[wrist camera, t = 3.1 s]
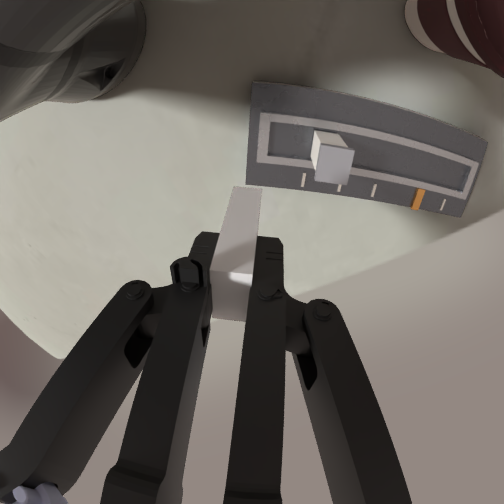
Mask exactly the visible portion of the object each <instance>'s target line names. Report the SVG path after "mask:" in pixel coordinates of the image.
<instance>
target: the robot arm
mask: <svg viewBox="0 0 504 504" xmlns="http://www.w3.org/2000/svg"><path fill="white" fill-rule="evenodd" d="M145 32H146V19H145V13H144V10H143V7H142V4H141V2H140V1H139V0H0V122H1V121H3V120H5V119H7V118H9V117H11V116H13V115H15V114H17V113H19V112H21V111H23V110H25V109H27V108H30V107H32V106H34V105H36V104H38V103H41V102H43V101H52V102H63V103H79V102H84V101H88V100H90V99H93V98H96V97H98V96H101V95H103V94H105V93H107V92H109V91H110V90H112V89H113V88H114V87H116V86H117V85H118V84H119V83H120V82H121V81H122V80H123V79H124V78H125V77H126V76H127V75H128V73H129V72H130V71H131V69H132V68H133V66H134V64H135V63H136V61H137V59H138V57H139V55H140V52H141V49H142V46H143V43H144V38H145ZM261 193H262V189H257V188H246V187H233V191H232V194H231V197H230V201H229V204H228V207H227V211H226V214H225V217H224V221H223V224H222V228H221V231H220V233H213V232H201V233H200V234H199V235H198V236H197V237H196V238H195V240H194V243H193V246H192V248H191V251H190V253H189V256H188V257H183V258H179V259H177V260H176V261H174V262H173V263H172V265H171V266H170V270H171V276H172V282H173V284H171V285H168V286H164V287H158V288H151V287H150V285H149V284H148V283H147V282H145V281H141V280H134V281H130V282H128V283H126V284H125V285H124V286H122V287H121V288H120V290H119V291H118V292H117V293H116V294H115V296H114V297H113V298H112V299H111V300H110V302H109V303H108V304H107V305H106V306H105V308H104V309H103V310H102V311H101V313H100V314H99V315H98V316H97V318H96V319H95V320H94V321H93V323H92V324H91V325H90V327H89V328H88V329H87V330H86V332H85V333H84V334H83V336H82V337H81V338H80V339H79V341H78V342H77V343H76V345H75V346H74V347H73V349H72V350H71V351H70V353H69V354H68V356H67V357H66V358H65V360H64V361H63V362H62V364H61V365H60V367H59V368H58V369H57V371H56V372H55V374H54V375H53V376H52V378H51V379H50V381H49V382H48V384H47V385H46V387H45V388H44V390H43V391H42V393H41V394H40V396H39V397H38V399H37V400H36V402H35V403H34V405H33V406H32V408H31V409H30V411H29V413H28V414H27V416H26V417H25V419H24V421H23V422H22V424H21V426H20V427H19V429H18V431H17V432H16V434H15V436H14V437H13V439H12V441H11V443H10V444H9V445H8V446H7V447H5V448H4V449H3V450H1V451H0V502H1V503H4V504H68V502H67V500H66V499H65V498H64V497H63V495H64V494H65V493H66V492H67V491H68V490H69V489H70V488H71V487H72V486H73V485H74V484H75V483H76V481H77V479H78V478H79V476H80V475H81V473H82V471H83V470H84V468H85V466H86V464H87V463H88V461H89V459H90V457H91V456H92V454H93V452H94V450H95V448H96V447H97V445H98V443H99V442H100V440H101V438H102V436H103V435H104V433H105V431H106V429H107V428H108V426H109V424H110V423H111V421H112V419H113V418H114V416H115V414H116V413H117V411H118V409H119V407H120V406H121V404H122V402H123V401H124V399H125V397H126V396H127V394H128V392H129V391H130V389H131V388H132V386H133V384H134V383H135V381H136V379H137V378H138V376H139V374H140V373H141V371H142V370H143V371H142V374H141V378H140V381H139V385H138V388H137V391H136V394H135V398H134V401H133V405H132V408H131V412H130V416H129V419H128V423H127V427H126V431H125V435H124V438H123V443H122V446H121V450H120V454H119V458H118V461H117V463H116V465H115V466H113V467H112V468H111V469H110V470H109V472H108V474H107V476H106V479H105V482H104V487H103V492H102V497H101V502H100V504H181V503H182V495H183V488H182V479H183V473H184V467H185V461H186V455H187V449H188V444H189V438H190V433H191V427H192V421H193V416H194V410H195V405H196V400H197V394H198V389H199V384H200V379H201V374H202V368H203V363H204V358H205V353H206V348H207V343H208V338H209V333H210V319H211V314H212V318H217V319H225V320H234V321H244V322H246V324H245V333H244V340H243V349H242V357H241V365H240V374H239V382H238V391H237V398H236V407H235V415H234V424H233V431H232V440H231V448H230V456H229V464H228V472H227V480H226V488H225V494H224V501H223V504H282V498H281V493H280V484H281V467H282V448H283V427H284V398H285V397H284V396H285V352H286V351H289V352H292V355H293V359H294V363H295V366H296V369H297V373H298V376H299V380H300V384H301V387H302V391H303V394H304V398H305V402H306V405H307V408H308V412H309V416H310V420H311V423H312V427H313V431H314V434H315V438H316V441H317V445H318V449H319V452H320V456H321V459H322V464H323V467H324V471H325V475H326V478H327V482H328V486H329V489H330V493H331V497H332V501H333V504H412V501H411V498H410V495H409V491H408V488H407V485H406V482H405V478H404V475H403V472H402V469H401V466H400V463H399V460H398V457H397V454H396V451H395V448H394V445H393V442H392V440H391V437H390V434H389V431H388V429H387V426H386V423H385V420H384V418H383V415H382V412H381V410H380V407H379V404H378V402H377V399H376V397H375V394H374V391H373V389H372V386H371V384H370V381H369V379H368V376H367V374H366V371H365V369H364V367H363V364H362V362H361V359H360V357H359V355H358V352H357V350H356V347H355V345H354V343H353V340H352V338H351V336H350V334H349V331H348V329H347V327H346V324H345V322H344V320H343V318H342V316H341V313H340V311H339V309H338V308H337V307H336V305H334V304H333V303H332V302H330V301H328V300H325V299H315V300H311V301H310V302H309V303H307V304H306V303H303V302H300V301H298V300H296V299H294V298H292V297H291V296H289V295H288V293H287V292H286V290H285V289H284V265H283V244H282V243H281V241H280V239H279V238H273V237H263V236H257V235H258V225H259V214H260V203H261Z"/></svg>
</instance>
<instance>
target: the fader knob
mask: <svg viewBox="0 0 504 504" xmlns="http://www.w3.org/2000/svg"><path fill="white" fill-rule="evenodd" d="M354 152H355V150H354V149H353V148H348V146H347V145H346V144H345V142H344V141H343V139H342V138H341V137H340V135H339V134H335V133H330V132H323V131H317V130H315V131H314V137H313V144H312V150H311V159H312V162H313V166H314V169H315V176H314V179H315V181H319V182H327V183H334V184H340V185H347V183H348V179H349V174H350V170H351V166H352V161H353V157H354Z"/></svg>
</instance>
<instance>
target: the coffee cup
mask: <svg viewBox="0 0 504 504" xmlns="http://www.w3.org/2000/svg"><path fill="white" fill-rule="evenodd" d="M405 19H406V22H407V25H408V27H409V29H410V31H411V33H412V34H413V35H414V37H415V38H416V39H417V40H418V41H419V42H420V43H421V44H423V45H424V46H425V47H427V48H429V49H431V50H433V51H437V52H441V53H445V54H447V55H449V56H452V57H454V58H457V59H461V60H464V61H468V62H471V63H474V64H477V65H480V66H483V67H486V68H489V69H491V70H492V71H494V72H495V73H496V74H498V75H499V76H501V77H503V78H504V0H408V1H407V2H406V5H405Z"/></svg>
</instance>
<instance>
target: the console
mask: <svg viewBox="0 0 504 504" xmlns="http://www.w3.org/2000/svg"><path fill="white" fill-rule="evenodd" d="M315 130H317V131H323V132H330V133H335V134H339V135H340V137H341V138H342V139H343V141H344V142H345V144H346V145H347V146H348V148H353V149H354V150H355V152H354V157H353V161H352V166H351V170H350V174H349V179H348V183H347V185H340V184H334V183H327V182H319V181H315V179H314V176H315V169H314V166H313V162H312V159H311V150H312V144H313V137H314V131H315ZM487 144H488V142H487V141H485V140H484V139H482V138H480V137H479V136H476V135H474V134H472V133H470V132H467V131H465V130H463V129H460V128H458V127H456V126H453V125H451V124H448V123H446V122H443V121H440V120H438V119H435V118H432V117H429V116H427V115H424V114H421V113H418V112H415V111H412V110H409V109H405V108H402V107H399V106H395V105H392V104H388V103H385V102H381V101H377V100H373V99H369V98H365V97H361V96H356V95H352V94H347V93H342V92H337V91H332V90H326V89H320V88H314V87H307V86H300V85H293V84H284V83H274V82H263V81H253V82H252V92H251V106H250V122H249V137H248V153H247V169H246V185H257V186H267V187H277V188H287V189H295V190H304V191H312V192H320V193H327V194H335V195H342V196H348V197H355V198H361V199H368V200H374V201H380V202H385V203H391V204H397V205H402V206H407V207H411V209H413V210H418V209H423V210H428V211H432V212H437V213H442V214H446V215H451V216H455V217H459V218H460V217H461V215H462V213H463V211H464V208H465V206H466V203H467V201H468V199H469V196H470V194H471V191H472V188H473V186H474V183H475V181H476V178H477V175H478V172H479V169H480V166H481V163H482V160H483V157H484V154H485V151H486V148H487Z"/></svg>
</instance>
